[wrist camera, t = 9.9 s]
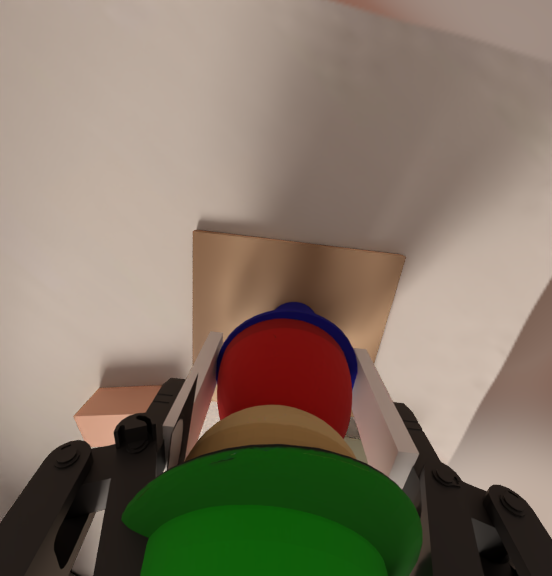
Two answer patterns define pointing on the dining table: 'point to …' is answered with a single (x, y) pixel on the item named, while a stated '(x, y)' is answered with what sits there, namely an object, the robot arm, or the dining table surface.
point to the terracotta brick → (111, 411)
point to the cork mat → (290, 285)
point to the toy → (276, 468)
